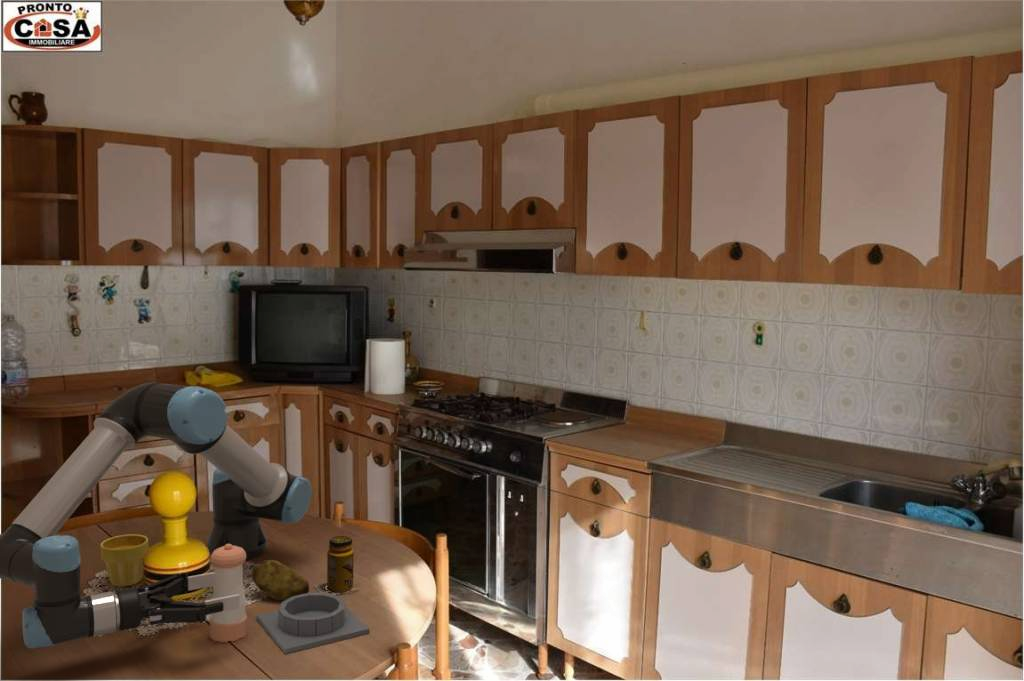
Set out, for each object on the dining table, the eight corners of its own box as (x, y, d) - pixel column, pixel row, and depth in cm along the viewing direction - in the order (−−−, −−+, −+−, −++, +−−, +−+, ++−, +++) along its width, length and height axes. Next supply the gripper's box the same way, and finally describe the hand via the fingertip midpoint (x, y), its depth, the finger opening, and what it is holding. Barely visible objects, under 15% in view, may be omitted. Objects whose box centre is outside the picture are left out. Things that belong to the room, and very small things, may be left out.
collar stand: (256, 619, 183) (256, 599, 182) (335, 601, 193) (336, 582, 192) (285, 654, 168) (285, 632, 167) (369, 633, 178) (369, 612, 177)
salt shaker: (202, 638, 173) (201, 547, 171) (226, 623, 180) (226, 536, 178) (231, 645, 171) (230, 553, 169) (254, 630, 177) (254, 541, 175)
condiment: (359, 590, 199) (360, 541, 198) (324, 598, 195) (325, 547, 193) (347, 580, 205) (347, 531, 204) (313, 586, 201) (313, 537, 199)
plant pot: (91, 584, 198) (90, 543, 197) (129, 569, 207) (128, 530, 206) (121, 593, 193) (120, 552, 192) (159, 578, 202) (158, 539, 201)
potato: (287, 609, 188) (287, 575, 187) (245, 596, 194) (245, 562, 193) (313, 597, 195) (313, 563, 194) (272, 584, 201) (272, 551, 200)
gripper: (105, 605, 173) (213, 585, 185) (128, 657, 152) (247, 630, 164) (105, 570, 172) (212, 552, 184) (127, 617, 152) (247, 593, 163)
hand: (229, 589), depth 174 cm, fingers open, 13 cm apart
